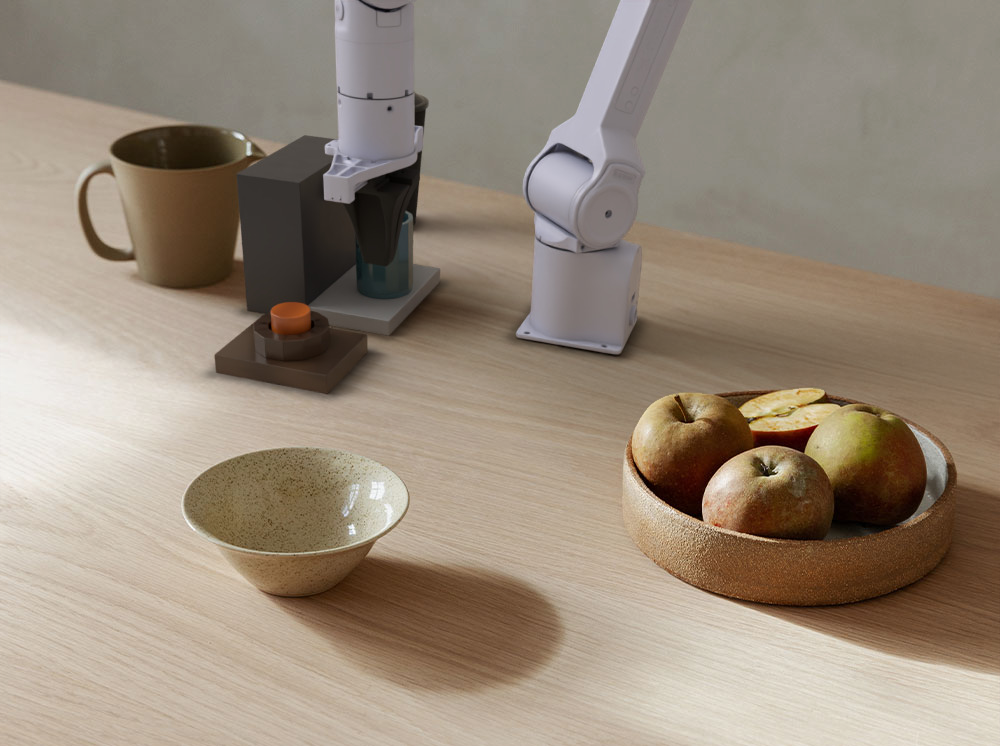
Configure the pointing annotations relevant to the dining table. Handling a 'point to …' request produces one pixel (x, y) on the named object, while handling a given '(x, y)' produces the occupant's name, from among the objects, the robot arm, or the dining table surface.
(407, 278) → the creamer cup
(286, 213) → the coffee maker
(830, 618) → the dining table surface
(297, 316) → the brew button
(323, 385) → the button block
